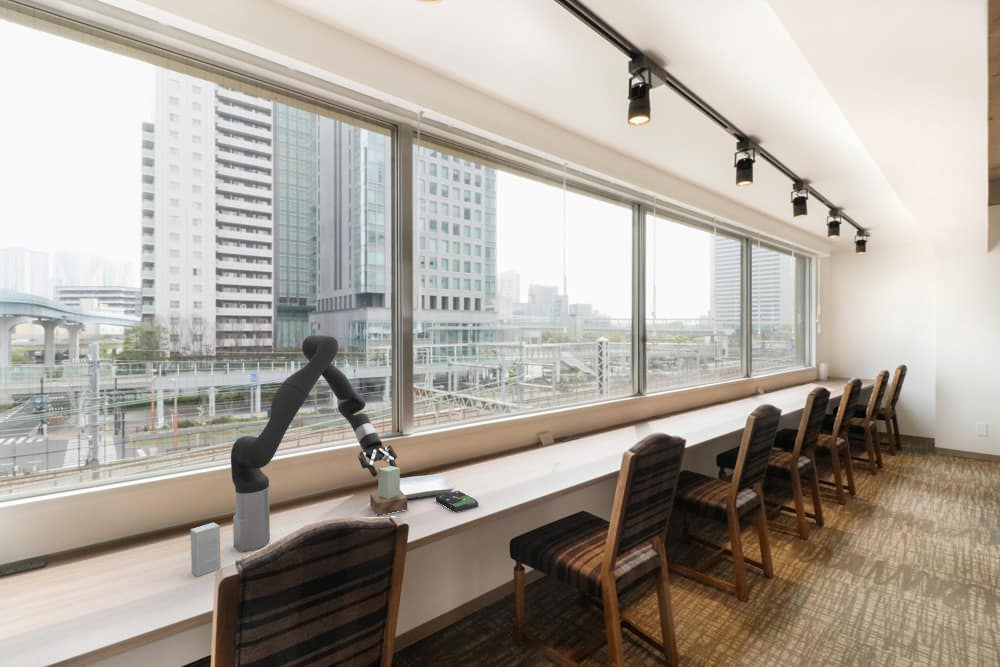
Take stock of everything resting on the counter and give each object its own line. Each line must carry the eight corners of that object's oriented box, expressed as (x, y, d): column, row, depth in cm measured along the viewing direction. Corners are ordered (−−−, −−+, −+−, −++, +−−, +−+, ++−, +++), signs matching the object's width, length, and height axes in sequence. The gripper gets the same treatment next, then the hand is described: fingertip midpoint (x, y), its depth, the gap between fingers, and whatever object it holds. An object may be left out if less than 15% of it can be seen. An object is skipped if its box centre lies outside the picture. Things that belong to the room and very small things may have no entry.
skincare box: (215, 564, 133) (214, 521, 133) (221, 568, 131) (220, 525, 131) (190, 572, 129) (190, 528, 129) (196, 577, 126) (195, 532, 126)
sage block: (388, 499, 171) (388, 471, 171) (378, 496, 174) (378, 468, 174) (399, 495, 175) (399, 468, 175) (390, 492, 178) (390, 465, 179)
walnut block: (377, 517, 167) (376, 503, 167) (370, 507, 177) (370, 494, 177) (407, 511, 172) (407, 497, 172) (399, 502, 182) (399, 489, 182)
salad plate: (454, 495, 188) (454, 487, 188) (401, 503, 180) (401, 494, 180) (441, 480, 208) (441, 473, 208) (393, 487, 200) (393, 478, 200)
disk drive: (435, 503, 181) (455, 514, 169) (435, 496, 181) (455, 506, 169) (458, 497, 187) (479, 507, 175) (458, 490, 187) (478, 500, 175)
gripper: (355, 435, 176) (373, 471, 168) (387, 429, 187) (405, 462, 179) (348, 447, 180) (365, 483, 172) (379, 440, 190) (397, 474, 183)
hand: (385, 472), depth 176 cm, fingers open, 8 cm apart
